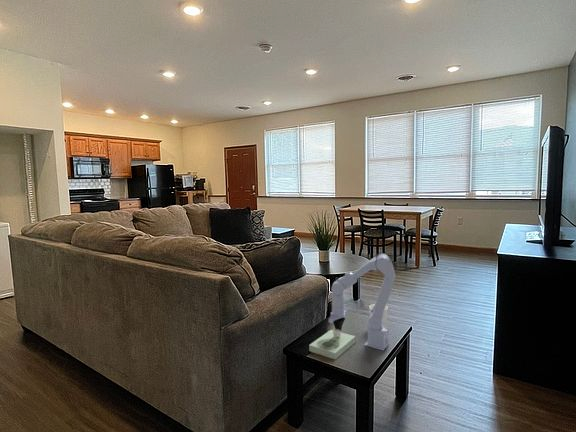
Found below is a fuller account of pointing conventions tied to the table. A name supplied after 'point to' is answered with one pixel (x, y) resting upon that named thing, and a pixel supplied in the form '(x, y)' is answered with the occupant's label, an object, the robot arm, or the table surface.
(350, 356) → the table surface
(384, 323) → the candle holder
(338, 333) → the ball
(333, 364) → the table surface
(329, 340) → the putting board
